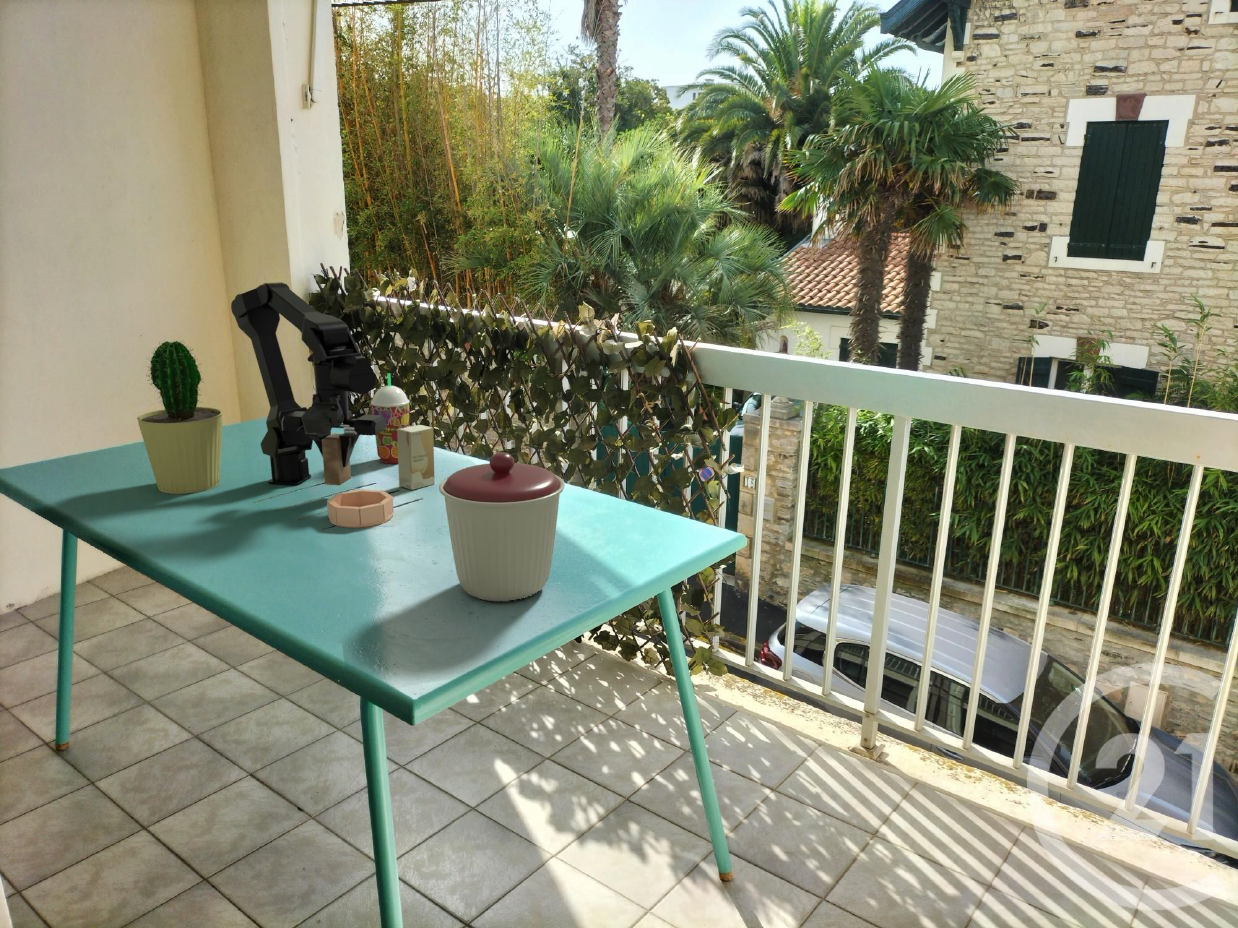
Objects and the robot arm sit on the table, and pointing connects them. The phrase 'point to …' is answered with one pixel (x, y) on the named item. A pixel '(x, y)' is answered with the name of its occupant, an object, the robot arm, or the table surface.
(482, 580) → the canister
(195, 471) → the potted cactus
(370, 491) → the peach octagonal dish
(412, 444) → the skincare box
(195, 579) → the table surface
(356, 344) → the robot arm
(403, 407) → the smoothie
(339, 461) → the tall tan cardboard carton
